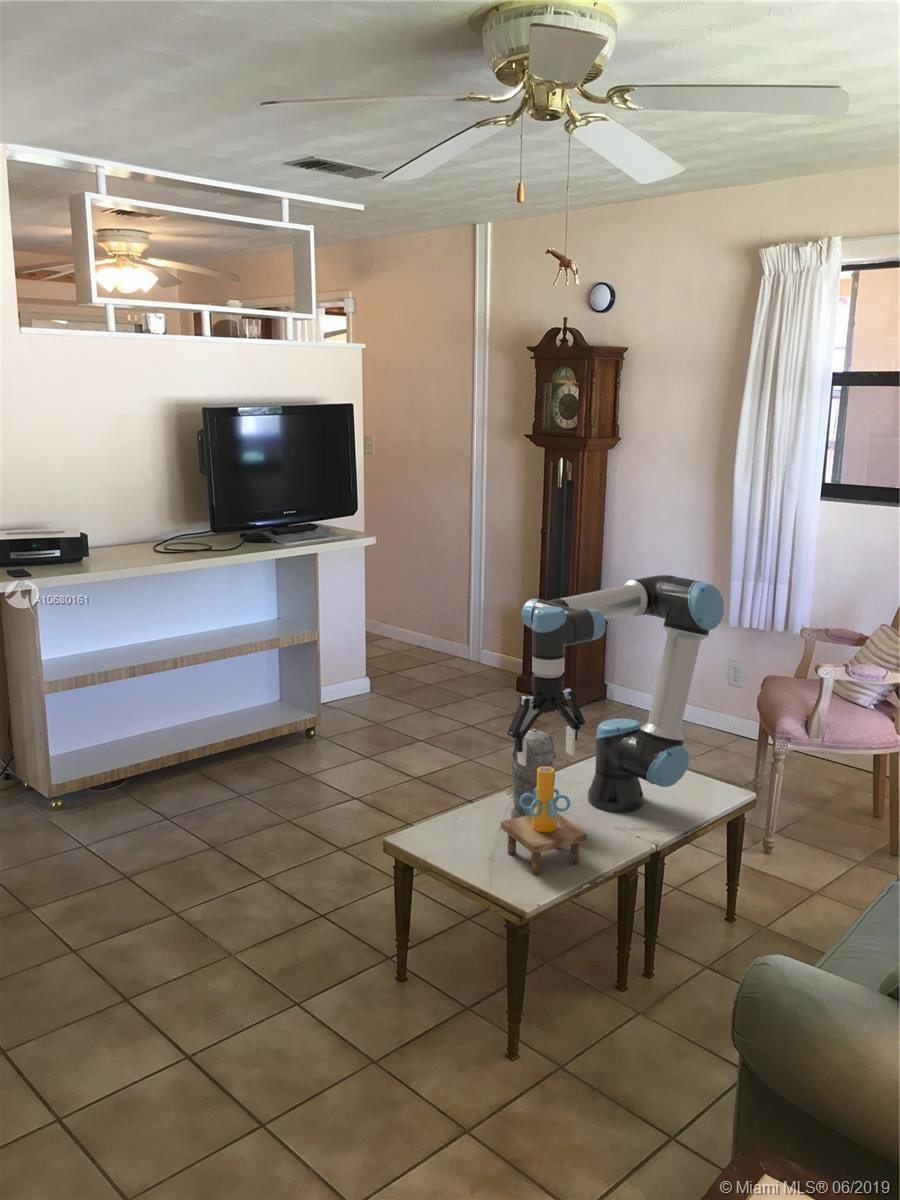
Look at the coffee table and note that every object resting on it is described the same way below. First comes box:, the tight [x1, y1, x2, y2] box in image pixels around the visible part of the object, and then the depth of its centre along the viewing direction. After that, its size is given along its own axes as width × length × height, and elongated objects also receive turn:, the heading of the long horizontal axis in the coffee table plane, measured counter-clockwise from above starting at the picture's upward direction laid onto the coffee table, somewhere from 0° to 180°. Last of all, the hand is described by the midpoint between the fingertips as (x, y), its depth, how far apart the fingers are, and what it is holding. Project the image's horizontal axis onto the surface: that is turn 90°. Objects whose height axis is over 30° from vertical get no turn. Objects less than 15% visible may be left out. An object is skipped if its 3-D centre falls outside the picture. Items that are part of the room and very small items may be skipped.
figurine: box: [509, 728, 557, 819], centre depth 252 cm, size 10×14×25 cm
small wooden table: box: [500, 812, 588, 876], centre depth 233 cm, size 15×15×8 cm
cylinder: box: [519, 766, 571, 833], centre depth 230 cm, size 12×10×15 cm
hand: (546, 758), depth 228 cm, fingers open, 13 cm apart
